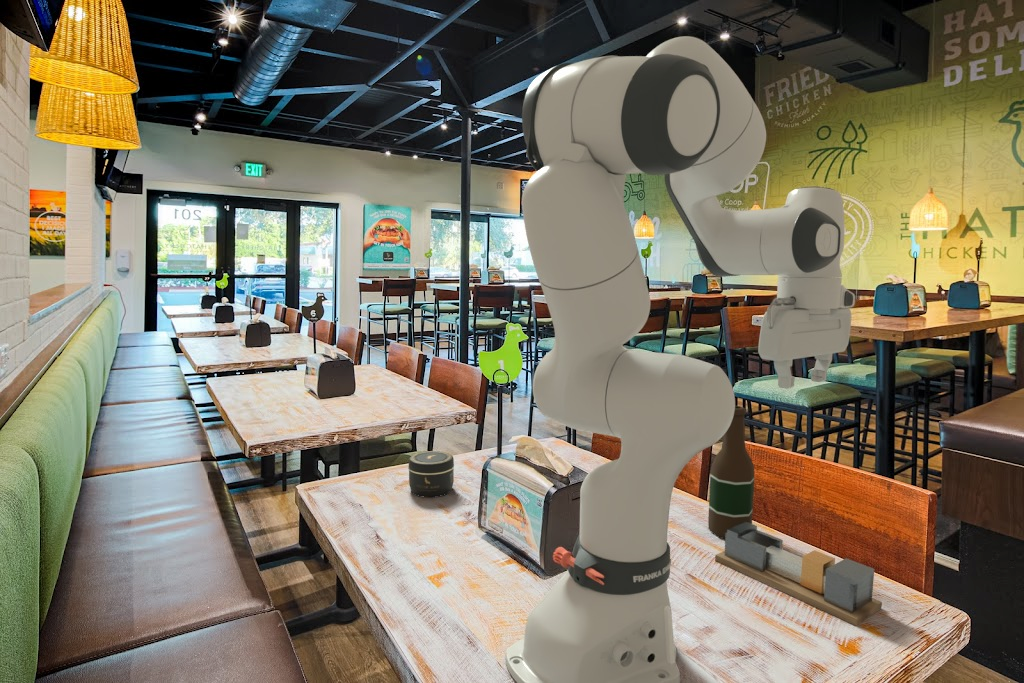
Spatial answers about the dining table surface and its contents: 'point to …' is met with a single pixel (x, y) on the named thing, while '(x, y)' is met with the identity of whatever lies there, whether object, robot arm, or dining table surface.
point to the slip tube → (800, 567)
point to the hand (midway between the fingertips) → (802, 384)
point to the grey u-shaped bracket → (749, 545)
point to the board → (801, 591)
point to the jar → (431, 473)
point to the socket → (849, 585)
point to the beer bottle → (731, 480)
